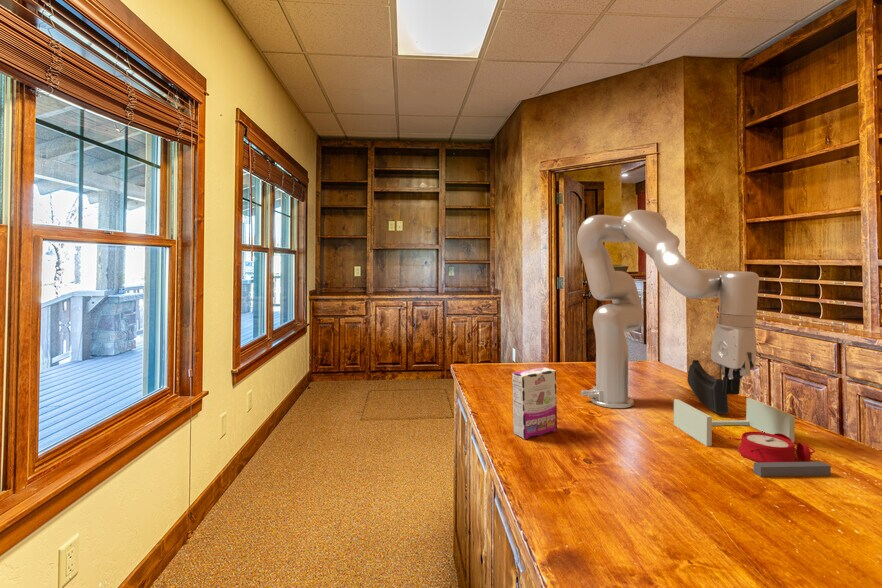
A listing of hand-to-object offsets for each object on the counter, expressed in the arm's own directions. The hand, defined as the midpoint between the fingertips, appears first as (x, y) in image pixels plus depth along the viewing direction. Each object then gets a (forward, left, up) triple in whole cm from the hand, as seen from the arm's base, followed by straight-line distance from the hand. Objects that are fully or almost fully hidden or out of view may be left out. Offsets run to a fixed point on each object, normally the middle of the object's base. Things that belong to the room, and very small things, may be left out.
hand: (730, 393), depth 104 cm
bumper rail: (-1, -20, -11) cm, 23 cm away
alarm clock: (+2, -12, -11) cm, 16 cm away
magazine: (+11, +28, -11) cm, 32 cm away
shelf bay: (+1, +1, -11) cm, 11 cm away
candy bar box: (-48, +4, -11) cm, 50 cm away
